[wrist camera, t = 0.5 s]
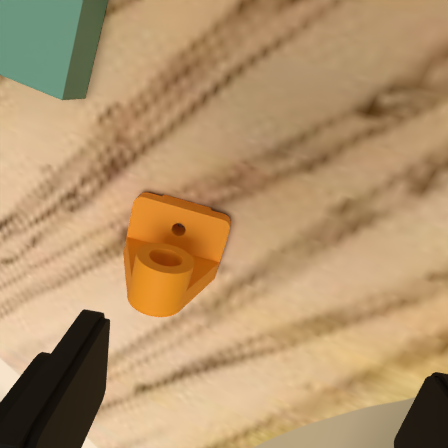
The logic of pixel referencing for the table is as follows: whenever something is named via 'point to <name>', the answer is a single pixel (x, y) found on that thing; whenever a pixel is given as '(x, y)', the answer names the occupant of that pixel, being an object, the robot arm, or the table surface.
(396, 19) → the table surface
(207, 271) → the bracket
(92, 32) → the green block
